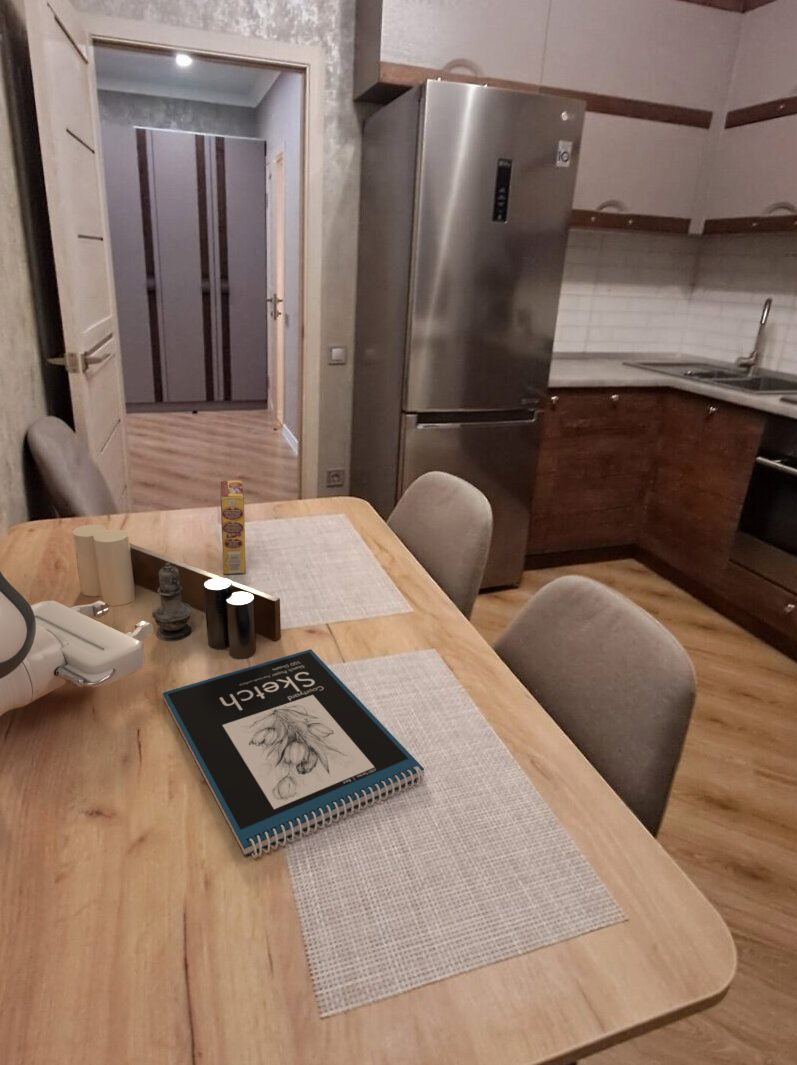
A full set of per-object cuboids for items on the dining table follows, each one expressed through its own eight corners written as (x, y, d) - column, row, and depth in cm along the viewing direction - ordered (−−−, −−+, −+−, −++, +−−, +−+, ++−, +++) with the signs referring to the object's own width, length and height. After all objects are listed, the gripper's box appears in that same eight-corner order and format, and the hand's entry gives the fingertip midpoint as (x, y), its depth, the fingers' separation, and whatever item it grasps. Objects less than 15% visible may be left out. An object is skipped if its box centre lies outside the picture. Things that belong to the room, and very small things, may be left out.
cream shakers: (74, 590, 113) (64, 528, 109) (101, 579, 118) (92, 519, 113) (116, 609, 108) (107, 544, 104) (142, 596, 113) (135, 534, 108)
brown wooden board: (113, 575, 119) (108, 539, 117) (118, 572, 120) (114, 537, 118) (276, 641, 102) (274, 601, 99) (281, 638, 103) (280, 598, 100)
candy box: (247, 574, 122) (244, 495, 116) (223, 575, 121) (218, 496, 115) (245, 553, 130) (242, 479, 124) (222, 555, 129) (218, 480, 123)
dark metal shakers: (202, 644, 100) (197, 585, 96) (221, 632, 103) (217, 575, 100) (243, 662, 96) (240, 601, 93) (262, 649, 100) (259, 590, 96)
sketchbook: (310, 656, 99) (310, 644, 98) (428, 785, 76) (429, 770, 75) (162, 700, 88) (161, 686, 87) (248, 866, 65) (247, 850, 64)
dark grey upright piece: (162, 646, 99) (155, 573, 95) (148, 629, 103) (140, 559, 99) (200, 634, 103) (194, 564, 98) (184, 618, 107) (178, 550, 102)
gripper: (82, 667, 77) (176, 618, 88) (-18, 615, 87) (78, 576, 98) (89, 712, 80) (180, 659, 91) (-8, 656, 89) (84, 614, 100)
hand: (126, 616), depth 94 cm, fingers open, 8 cm apart
